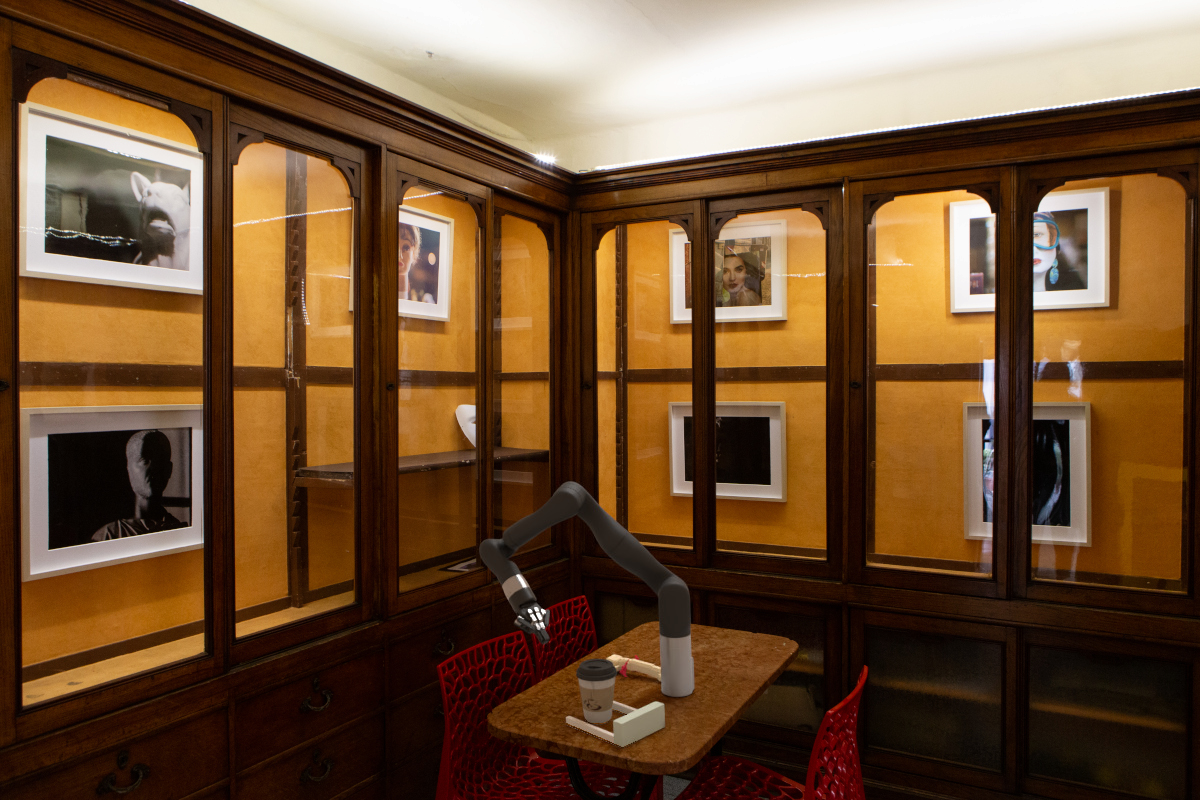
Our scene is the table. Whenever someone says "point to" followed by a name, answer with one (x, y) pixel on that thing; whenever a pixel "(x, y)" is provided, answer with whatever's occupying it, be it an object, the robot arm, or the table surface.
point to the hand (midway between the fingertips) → (546, 642)
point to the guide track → (628, 723)
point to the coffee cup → (597, 689)
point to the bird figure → (634, 666)
